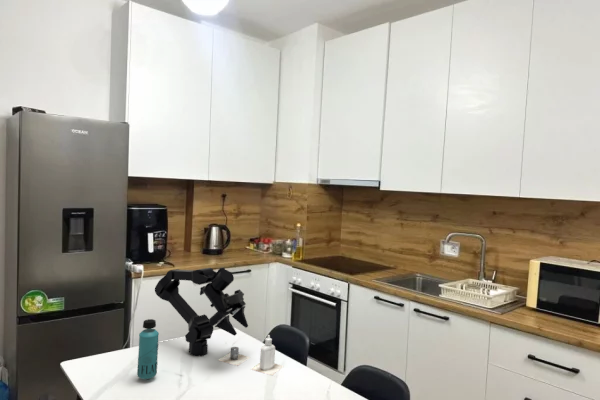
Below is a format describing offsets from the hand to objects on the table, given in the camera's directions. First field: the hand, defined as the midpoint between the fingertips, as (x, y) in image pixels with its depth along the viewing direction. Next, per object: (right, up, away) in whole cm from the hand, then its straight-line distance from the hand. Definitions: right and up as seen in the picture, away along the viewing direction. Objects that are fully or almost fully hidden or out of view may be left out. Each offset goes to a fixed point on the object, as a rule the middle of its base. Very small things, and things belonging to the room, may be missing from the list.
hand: (241, 330), depth 149 cm
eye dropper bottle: (+9, -13, -1) cm, 16 cm away
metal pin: (-4, -12, +5) cm, 14 cm away
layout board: (+2, -14, +1) cm, 14 cm away
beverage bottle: (-30, -12, -13) cm, 35 cm away
